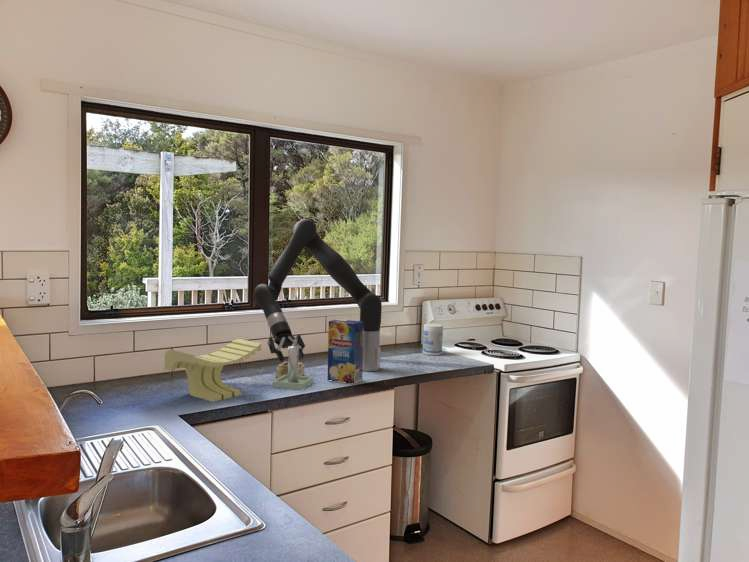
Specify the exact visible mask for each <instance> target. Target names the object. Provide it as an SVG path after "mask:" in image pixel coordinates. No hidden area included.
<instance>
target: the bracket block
mask: <svg viewBox="0 0 749 562" xmlns="http://www.w3.org/2000/svg"><path fill="white" fill-rule="evenodd" d="M283 375H288V361H283V362H281V363H279V364H278V365H277V367H276V368H275V379H278V378H280V377H281V376H283ZM303 375H304V376H305V365H304V364H303V362H299V376H303Z"/></svg>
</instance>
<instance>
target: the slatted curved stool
mask: <svg viewBox="0 0 749 562" xmlns="http://www.w3.org/2000/svg"><path fill="white" fill-rule="evenodd" d="M256 352H262V342H257V341H251V340H247V339H241V338H236V339H235V340H232V341H230V343H228V344H225V345H224V347H221V348H219V349H218V350H216V351H213V352H211V353H208V354H202V355H196V356H195V355H194V354H191V353H187V352H183V351H182V352H181V351H180V350H179V351H178V350H174V349H168V350H166V352H165V354H164V370H166V371H168V372H174V371H176V370H177V369H185V373H186V376H187V380H188V383H187V384H188V393H189V395H190V397H191V396H192V397H195V398H198V397H199V399H201V398H203V399H202V400H204V399H206V400H205V401H207V400H209V401H208V402H211V401H216V402H219V401H218V400H220V401H222V400H227V399H226V398H228V399H231V398H230V397H232V396H236V397H239V396H238V395H240V396H243V395H242V394H243V393H242V390H241V389H238V388H236V387H235V388H234V387H232V386H229V385H227V384H226V383H225V382H223V380H222V379H221V374H222V373H221V372H222V370H223V369H224V366H228V365H233V364H238V363H243V362H244V360H245V359H249V358H250V356H254V355H256ZM232 398H233V397H232Z"/></svg>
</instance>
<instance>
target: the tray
mask: <svg viewBox="0 0 749 562" xmlns="http://www.w3.org/2000/svg"><path fill="white" fill-rule="evenodd" d="M312 382H313V383H314V376H306V375H304V376H299V382H298V383H292V382H288V375H283V376H281V377H280V378H275V380H273V381H272V388H277V387H282V388H281V389H288V388H292V389H291V390H300V389H303V390H304V388H305V387H306V388H308V387H309V386H310V385H311V383H312ZM313 383H312V384H313ZM309 384H310V385H309ZM308 385H309V386H308ZM306 388H305V389H306Z"/></svg>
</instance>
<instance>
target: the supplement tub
mask: <svg viewBox="0 0 749 562" xmlns="http://www.w3.org/2000/svg"><path fill="white" fill-rule="evenodd" d="M443 333H444V326H443V324H439V323H424V325H423V334H422V335H423V337H422V354H423V355H425V356H433V357H435V356H441V355H442V351H443V338H444V336H443V335H444V334H443Z"/></svg>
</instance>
